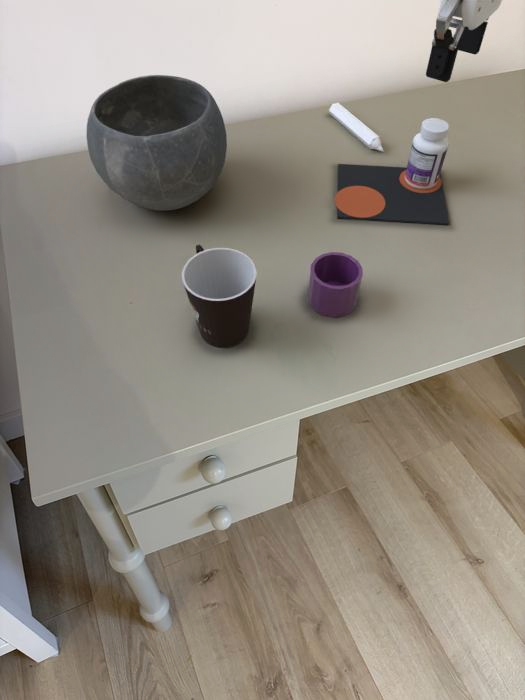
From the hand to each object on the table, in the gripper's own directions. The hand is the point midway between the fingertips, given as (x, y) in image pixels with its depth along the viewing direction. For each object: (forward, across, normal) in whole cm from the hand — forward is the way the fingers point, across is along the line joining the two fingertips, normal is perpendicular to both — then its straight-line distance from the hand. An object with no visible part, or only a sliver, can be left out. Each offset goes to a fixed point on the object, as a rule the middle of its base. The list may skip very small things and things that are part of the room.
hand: (452, 64), depth 71 cm
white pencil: (+19, +8, +16) cm, 26 cm away
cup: (+20, -30, -1) cm, 36 cm away
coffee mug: (+20, -41, +8) cm, 46 cm away
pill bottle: (+19, +1, +1) cm, 19 cm away
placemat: (+19, -4, +3) cm, 20 cm away
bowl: (+19, -25, +33) cm, 46 cm away
